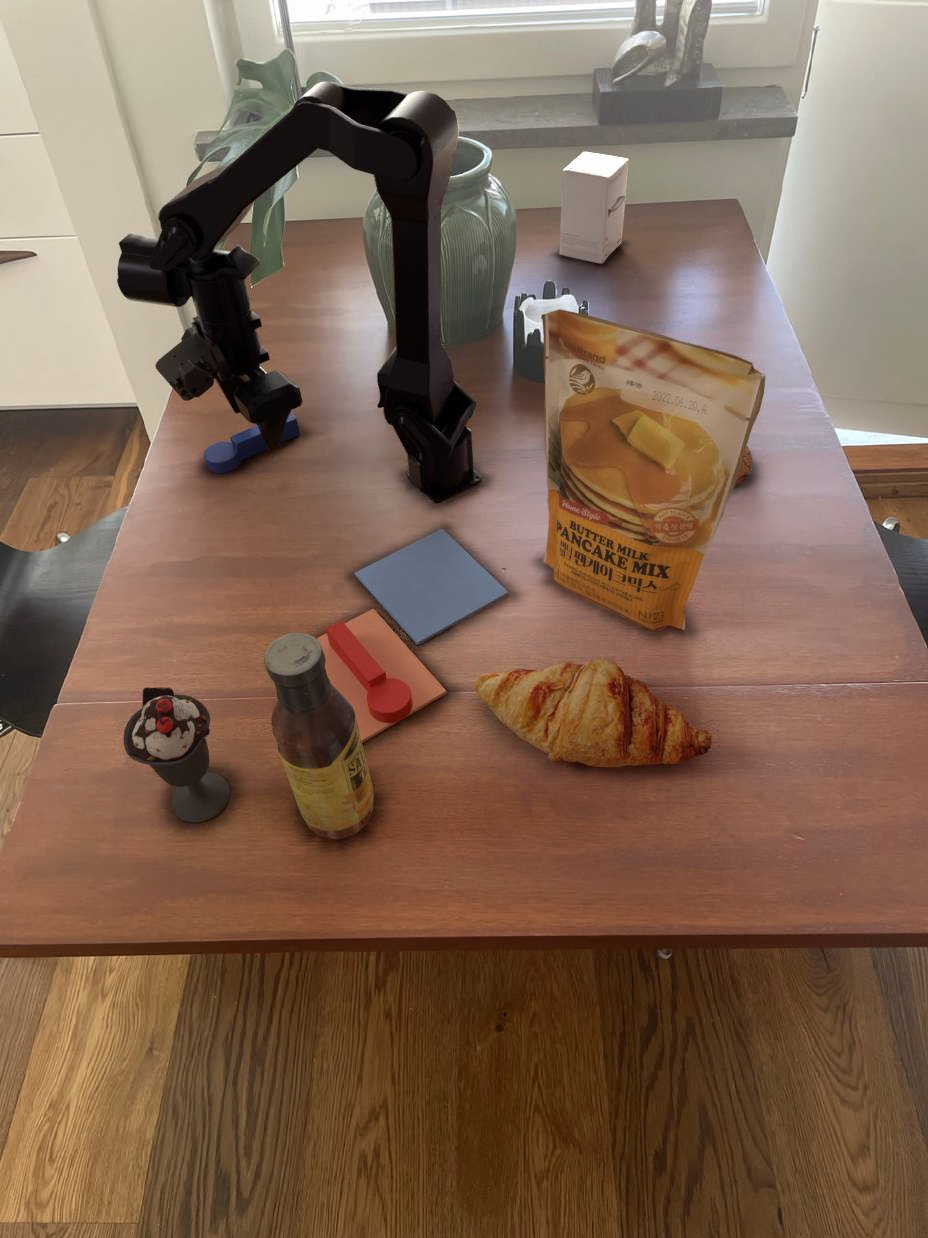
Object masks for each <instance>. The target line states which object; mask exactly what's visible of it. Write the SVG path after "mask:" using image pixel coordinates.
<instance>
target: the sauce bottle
mask: <svg viewBox="0 0 928 1238" xmlns="http://www.w3.org/2000/svg"><path fill="white" fill-rule="evenodd" d="M263 658H264V660H263V661H264V666H265V669H266V671H267V674H268V676H269V678H270V679H271V681H272V682H273V684H274V687H275V689H276V697H277V700H276V702H275V704H274V706H273V709H272V713H271V719H270V721H271V723H270V724H271V727H272V728H271V729H272V735H273V736H274V738H275V741H276V744H277V745H276V746H277V752H278V754H279V757H280V760H281V763H282V766H283V769H284V771H285V774H286V776H287V780H288V783H289V786H290V788H291V790H292V794H293V797H294V799H295V802H296V805H297V808H298V810H299V813H300V815H301V817H302V818H303V820H304V822H305V824H306V826H307V827H308V828H309V830H311V831H312V833H313V832H314V833H315V834H316V835H317V836H319V837H320V838H323V839H327V840H341V839H347V838H350V837H352V836H354V835H356V834H358V833H359V832H360V831H361V830H363V829H364V827H366V826H367V824H368V822H369V821H370V819H371V816H372V814H373V811H374V807H375V805H374V801H375V800H374V799H375V797H374V795H375V793H374V792H375V791H374V786H373V782H372V778H371V774H370V771H369V766H368V762H367V757H366V754H365V749H364V745H363V743H362V740H361V736H360V732H359V728H358V724H357V720H356V716H355V712H354V709H353V707H352V705H351V704H350V703H349V702H348V701H347V700H346V699H345V698H344V697H343V696H342V695H341V694H340V692H339V691H338V690H337V689H336V688H335V687H334V686H333V685H332V684H331V683H330V680H329V678H328V676H327V673H326V669H325V663H326V660H325V655H324V652H323V649H322V646H321V644H320V643H319V641H318V640H317V637H314V635H310V634H307V633H305V632H292V633H287V634H284V635H282V636H280V637H278V638H276V639H275V640H274V641H273V642H271V643H270V644H269V645H268V647H267V649H266V650H265V653H264V657H263Z"/></svg>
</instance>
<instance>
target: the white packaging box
mask: <svg viewBox="0 0 928 1238" xmlns="http://www.w3.org/2000/svg"><path fill="white" fill-rule="evenodd" d="M628 171H629V158H626V157H621V156H620V157H619V156H613V155H608V154H602V153H595V152H589V151H583V152H582V153H580V154H579V155H578V156H577V157H576V158H575V159H573V160H572V161H571V162H570V163H569V164H568V165H567V166H566V167H565V168H563V169H562V171H561V175H562V176H561V196H560V198H561V199H560V200H561V201H560V227H559V229H560V231H559V252H558V253H559V255H560V256H564V257H568V258H573V259H577V260H582V261H585V262H586V261H587V262H591V263H595V264H600V265H603V263H604V262H605V261H606V260H607V259H608V257H610V255H611V254H612V253H613V252H614V251H616V250H617V248H618V247H619V246H620V245H621V244H622V241H623V232H624V221H625V220H624V219H625V207H626V196H627V184H628V183H627V182H628ZM621 238H622V239H621ZM620 239H621V240H620ZM619 240H620V241H619ZM618 241H619V242H618ZM617 242H618V243H617ZM606 254H607V255H606ZM588 255H589V256H588ZM605 255H606V256H605Z"/></svg>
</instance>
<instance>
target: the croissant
mask: <svg viewBox="0 0 928 1238" xmlns="http://www.w3.org/2000/svg"><path fill="white" fill-rule="evenodd" d="M474 689H475V692H476V694H477V696H478V698H479V699H480V700H481V701H482V702H483V704H484V705H486V706H487V707H488V708H489V709H490V710H491V711H492V712H493V714H494V715H495V717H496V718H497V719H498V720H499V721H500V722H501V723H502V724H503V725H505V726H506V727H508V729H509V730H510V731H511V732H513V733H515V734H516V735H517V736H518V737H519V738H520V739H521V740H522V741H524V742H527V743H529V744H530V745H532V746H533V747H535V748H536V749H538V750H540V751H542V752H544V753H546V754H548V759H549V760H550V761H552V762H555V761H557V762H558V761H563V762H572V763H574V762H578V763H581V764H583V765H585V766H587V767H588V766H589V767H597V768H619V767H624V766H625V767H626V766H644V765H645V766H646V765H659V764H663V765H677V764H679V763H682V762H685V761H689V760H691V759H693V758H697V757H700V756H703V755H706V754H708V753H709V751H710V749H711V748H712V746H713V740H712V739H713V736H712V734H711V733H710V732H709V730H706V729H699V728H698V727H694V726H692V725H690V722H689V721H688V719H687V717H686V715H685V714H684V713H682V712H680V711H678V709H677V707H676V706H675V707H672V706H671V705H670V704H668V703H666V702H664V700H663V699H662V698H658V697H656V696H655V695H654V694H653V693H652V691H651V690H650V689H649V687H647V683H646V682H644V681H642V680H640V679H637V678H634V677H633V676H630V675H629V674H625V672H624V670H623V669H622V668H621V666H619V664H618V663H616V662H615V661H614V660H611V659H608V658H604V657H598V658H597V659H593V660H591V661H589V662H588V663H587V664H584V665H583V664H582V663H575V662H572V661H568V662H567V661H566V662H565V663H561V662H560V663H559V662H558V663H556V664H554V665H551V666H549V667H548V668H545V669H537V670H536V669H525V668H516V669H512V670H507V671H505V672H502V673H501V674H499V673H495V672H489V673H483V674H480V675H479V676H478V677H476V678H475V680H474Z"/></svg>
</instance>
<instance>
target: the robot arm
mask: <svg viewBox="0 0 928 1238" xmlns="http://www.w3.org/2000/svg"><path fill="white" fill-rule="evenodd" d="M459 125H460V124H459V119H458V117H457V113H456V111H455V110H454V109H452V108H451V106H450V105H449V104H448V102H447V101H446V100H445V99H444V98H442V97H441V96H439V95H438V94H437V93H434V92H431V91H428V90H416V91H414V92H411V93H409V92H405V91H401V90H397V89H394V88H380V87H357V86H349V85H346V84H342V83H338V82H335V81H320V82H318V83H316V84H315V85H313V87H310V89H309V90H308V91H306V92H305V93H304V94H303V95H302V96H300V97H299V98H298V99H297V100H296V101H295V102H294V104H293V106H292V108H291V110H290V111H288V113H286V114H285V115H284V116H283V117H282V118H281V119H280V120H278V121H277V122H276V123H275V124H274V125H273V126H271V128H269V130H267V131H266V132H265V133H264V134H262V136H261V137H259V138H258V139H257V140H256V141H255V142H254V143H253V144H252V145H251V146H249V147H248V148H247V149H246V150H245V151H244V152H242V153H241V154H240V155H239V156H238V157H237V158H236V159H235V160H233V161H232V162H231V163H229V164H226V165H225V166H221V167H217V168H215V169H213V170H211V171H209V172H207V173H205V174H203V175H202V176H199V177H197V178H196V179H194V180H193V181H192V182H190V184H188V185H187V186H186V187H184V188H183V189H182V190H181V191H179V192H178V193H177V194H176V195H175V196H174V197H173V198H171V199H170V200H169V201H168V202H167V203H166V204H164V205H163V206H162V207H161V209H160V210H159V212H158V215H157V220H158V221H159V225H160V229H161V232H160V234H159V236H158V238H154V237H146V236H143V235H141V234H136V233H128V234H127V235H126V236H125V237H123V238H122V239H121V240H120V241H118V246H119V249H120V251H121V253H120V256H119V258H118V263H117V279H116V283H117V286H118V288H119V290H120V293H121V294H122V295H123V296H124V297H125V299H127V300H128V301H132V302H137V303H143V304H153V305H160V306H167V307H173V308H180V307H183V306H185V305H186V304H187V303H188V301H189V300H190V298H191V299H192V302H193V303H192V304H193V305H194V309H195V313H196V316H194V317H192V322H191V326H190V327H188V328H186V329H185V330H184V333H183V334H182V335H181V338H180V340H181V341H180V342H178V344H176V345H175V346H174V347H172V348H171V349H170V350H169V351H168V352H166V353H165V354H164V355H163V356H161V357H160V358H159V359H157V361H156V362H155V370H156V371H157V372H158V373H159V374H160V375H161V376H162V377H163V379H164V380H165V381H166V382H167V383H168V384H169V386H170V387H171V388H172V389H173V390H174V392H176V394H177V395H178V396H179V397H180V398H181V399H182V401H185V402H188V401H191V400H193V399H194V398H200V397H201V396H202V395H203V394H205V393H206V392H207V391H208V390H210V389H211V388H212V387H213V386H214V383H215V382H216V384H217V385H218V387H219V389H220V391H221V392H222V394H223V396H224V397H225V399H226V401H227V403H228V404H229V406H230V407H231V409H232V411H233V412H234V414H235V415H236V414H241V416H243V418H244V419H245V420H246V421H247V422H249V423H250V424H254V425H256V426H258V428H259V430H260V432H261V435H262V437H263V439H264V441H265V443H266V445H267V447H268V449H267V450H269V451H274V450H276V449H278V448H280V447H279V446H280V444H281V443H280V440H281V437H282V434H283V431H284V428H285V425H286V422H287V419H288V417H289V414H290V413H292V410H295V409H297V408H299V407H301V406H302V404H303V397H302V393H301V389H300V388H301V387H300V386H299V385H297V383H296V382H294V381H293V380H292V378H290V377H289V376H288V375H287V374H286V373H284V372H282V371H280V370H278V369H273V370H272V371H269V372H266V371H265V370H264V369H263V368H262V367H261V364H264V363H266V362H268V361H270V360H271V358H270V353H269V351H268V350H267V349H266V348H265V347H264V346H262V345H261V342H260V341H261V340H260V338H259V334H258V330H257V329H259V328H262V326H263V324H262V320H261V317H260V316H259V315H257V313H255V312H254V311H253V308H252V305H251V301H250V296H249V292H248V288H247V283H246V279H247V278H248V277H249V276H250V275H251V274H252V273H253V271H255V270H256V269H257V268H258V267H259V266H260V263H261V262H260V261H261V260H260V259H259V258H257V256H255V255H254V254H252V253H251V252H248V251H246V250H245V249H244V248H243V247H242V246H241V245H240V244H237V245H236V246H234V247H233V248H232V250H223V249H216V248H218V247H219V246H220V245H221V244H222V243H223V242H224V241H225V240H226V239H227V238H228V237H229V236H230V235H231V234H233V232H234V231H236V230H237V228H238V227H239V225H240V224H241V223H242V222H243V220H244V219H245V217H246V216H247V215H248V213H249V212H250V211H251V209H252V207H253V205H254V203H255V202H256V200H257V199H258V198H260V197H261V196H262V195H263V194H265V193H266V192H267V191H268V190H269V189H270V188H272V187H273V186H274V185H276V184H277V183H278V182H279V181H280V180H282V178H284V177H285V176H286V175H287V174H289V173H290V172H291V171H292V170H294V169H295V168H296V167H298V166H299V165H300V164H301V163H302V162H303V161H305V160H306V159H307V158H308V157H309V156H311V155H312V154H313V153H314V152H315V151H317V150H318V149H319V150H321V151H325V152H329V153H331V155H333V156H335V157H336V158H337V159H339V160H340V161H342V162H343V163H344V164H345V165H347V166H348V167H349V168H351V169H353V170H356V171H359V172H362V173H365V174H369V175H373V178H374V184H375V188H376V192H377V194H378V196H379V198H380V199H381V201H382V203H383V205H384V206H385V208H386V210H387V212H388V214H389V218H390V229H391V231H390V232H391V253H392V255H391V256H392V257H391V259H392V278H393V279H392V280H393V304H394V326H395V327H394V328H395V329H394V330H395V332H394V333H395V347H394V348H393V350H392V351H391V353H390V354H389V356H388V357H387V358H386V360H385V361H384V363H383V364H382V365H381V367H380V369H379V370H378V372H377V373H376V383H377V387H378V392H379V401H378V403H377V408H378V409H381V408H382V409H383V416H384V419H385V421H386V423H387V425H389V426H391V427H392V428H393V430H394V432H395V434H396V435H397V437H398V440H399V441H400V443H401V445H402V447H403V449H404V451H405V453H406V455H407V456H406V457H407V465H408V471H406V473H405V475H406V479H408V480H409V481H410V483H411V484H412V485H413V486H414V487H415V488H416V489H417V490H418V491H419V492H420V493H421V494H424V495H425V496H426V497H427V498H428V499H429V500H430V501H431V502H432V503H434V504H436V505H439V504H441V503H443V502H445V501H447V500H449V499H451V498H454V497H455V496H458V495H459V494H461V493H463V492H465V491H467V490H469V489H471V488H473V487H475V486H478V485H480V484H481V483H482V482H483V476H481V475H480V474H479V473H478V472H477V471H476V470H475V469H474V454H473V453H474V451H473V450H474V449H473V435H472V430H471V429H470V428H468V427H467V424H468V422H469V421H470V419H472V417H473V414H474V412H475V409H476V407H477V401H476V400H475V399H473V397H472V396H471V395H470V394H469V393H468V392H467V391H466V390H464V389H463V388H462V386H460V385H459V383H457V382H456V380H455V378H454V372H453V366H452V361H451V359H450V357H449V355H448V354H447V352H446V350H445V348H444V347H443V345H442V337H441V336H442V207H443V203H444V199H445V196H446V192H447V189H448V185H449V182H450V180H451V179H450V178H451V176H452V172H453V170H454V164H455V158H456V152H457V146H458V141H459V136H460V126H459Z"/></svg>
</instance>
